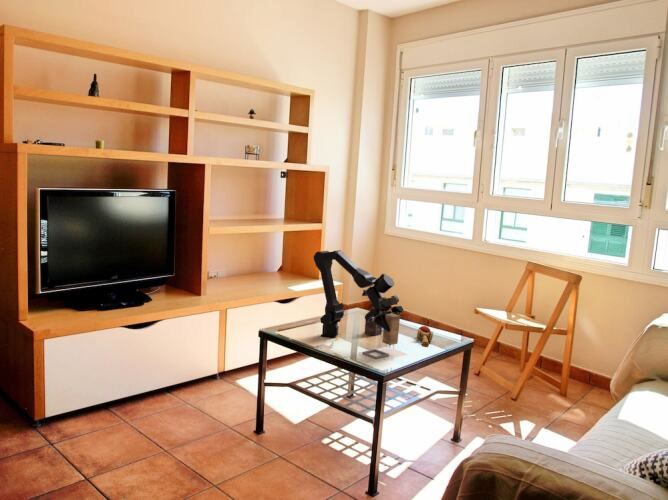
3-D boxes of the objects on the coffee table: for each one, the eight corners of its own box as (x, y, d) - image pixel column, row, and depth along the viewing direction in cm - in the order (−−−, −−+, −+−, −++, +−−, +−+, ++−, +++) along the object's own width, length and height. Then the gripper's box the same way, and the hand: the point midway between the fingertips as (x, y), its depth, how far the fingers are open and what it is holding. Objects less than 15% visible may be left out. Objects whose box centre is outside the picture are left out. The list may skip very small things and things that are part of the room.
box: (374, 336, 267) (375, 321, 266) (364, 333, 270) (365, 318, 269) (381, 334, 272) (383, 319, 271) (371, 331, 275) (372, 316, 274)
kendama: (435, 351, 255) (433, 334, 272) (434, 338, 253) (431, 322, 271) (417, 352, 256) (416, 336, 273) (416, 339, 255) (415, 323, 272)
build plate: (355, 355, 237) (356, 351, 236) (387, 348, 249) (387, 344, 249) (376, 364, 228) (377, 359, 228) (408, 356, 240) (408, 351, 240)
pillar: (382, 342, 241) (384, 314, 239) (389, 340, 244) (392, 313, 242) (390, 345, 237) (392, 317, 236) (397, 343, 240) (399, 315, 239)
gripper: (371, 290, 234) (389, 323, 228) (402, 287, 247) (419, 318, 240) (357, 305, 241) (373, 337, 234) (387, 301, 253) (403, 331, 247)
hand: (393, 330), depth 239 cm, fingers closed on pillar, 4 cm apart
